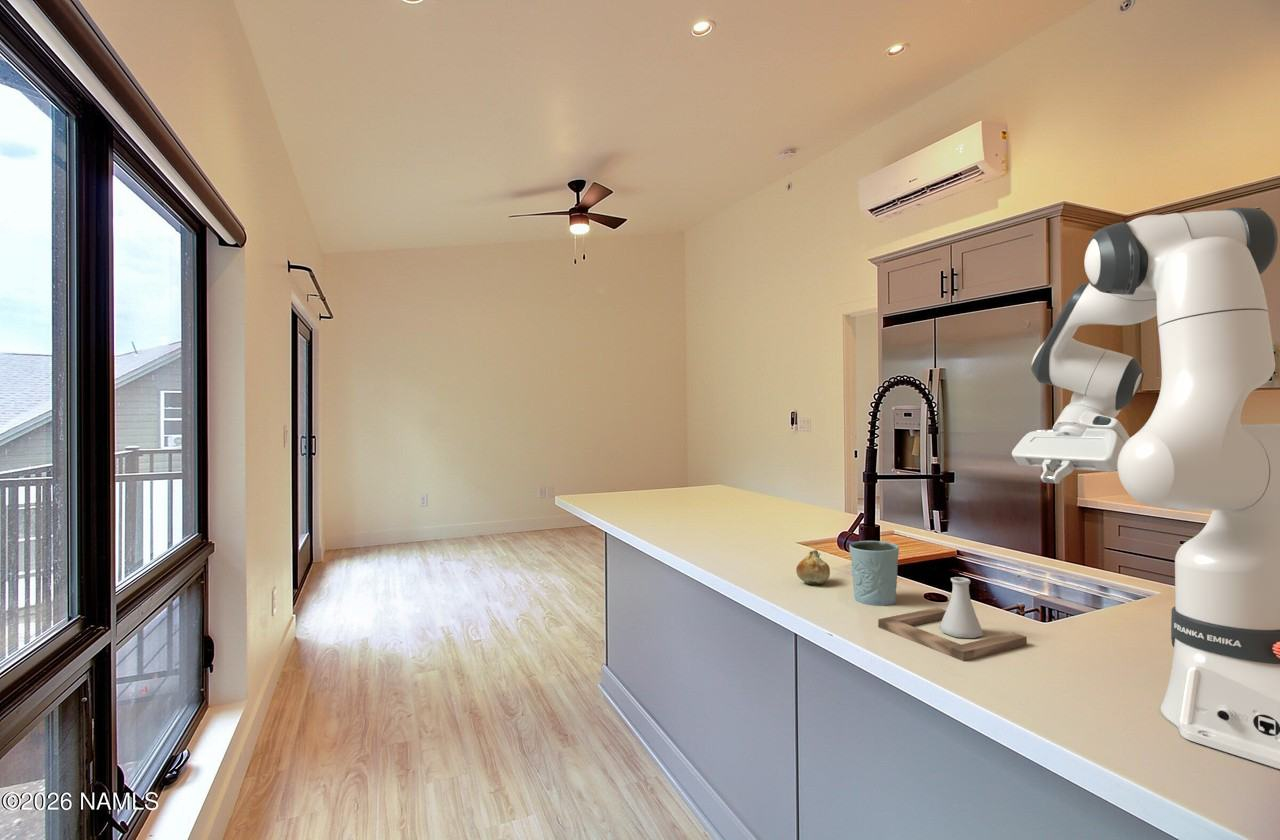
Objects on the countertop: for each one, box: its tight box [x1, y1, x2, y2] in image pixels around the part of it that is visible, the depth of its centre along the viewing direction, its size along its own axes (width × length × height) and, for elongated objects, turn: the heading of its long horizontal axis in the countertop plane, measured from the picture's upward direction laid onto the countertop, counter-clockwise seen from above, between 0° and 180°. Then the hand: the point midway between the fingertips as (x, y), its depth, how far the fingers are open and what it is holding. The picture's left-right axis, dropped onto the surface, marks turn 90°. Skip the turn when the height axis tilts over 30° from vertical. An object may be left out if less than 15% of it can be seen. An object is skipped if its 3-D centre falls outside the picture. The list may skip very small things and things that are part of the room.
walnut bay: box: [877, 607, 1028, 662], centre depth 120 cm, size 19×16×2 cm
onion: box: [795, 549, 831, 586], centre depth 157 cm, size 8×8×8 cm
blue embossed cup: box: [848, 540, 900, 607], centre depth 142 cm, size 10×10×12 cm
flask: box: [938, 576, 985, 639], centre depth 121 cm, size 7×7×10 cm
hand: (1048, 481), depth 129 cm, fingers closed
